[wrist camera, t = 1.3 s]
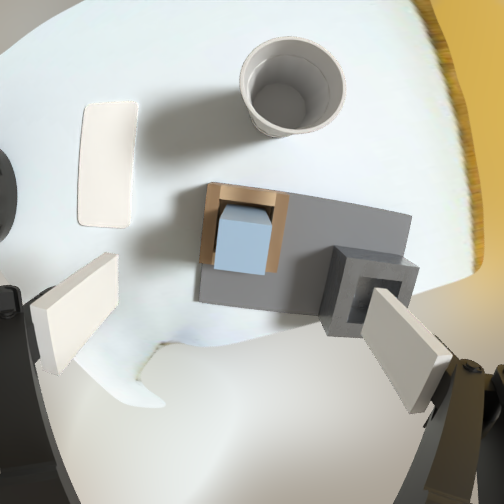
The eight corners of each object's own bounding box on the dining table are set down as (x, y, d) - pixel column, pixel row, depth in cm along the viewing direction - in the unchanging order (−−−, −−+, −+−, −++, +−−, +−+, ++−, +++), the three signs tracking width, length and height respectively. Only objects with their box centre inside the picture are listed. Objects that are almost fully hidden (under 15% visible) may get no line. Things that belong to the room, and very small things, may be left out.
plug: (222, 239, 34) (213, 268, 25) (227, 203, 33) (219, 218, 24) (259, 244, 34) (264, 275, 25) (264, 208, 33) (272, 225, 24)
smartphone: (138, 100, 31) (129, 229, 35) (141, 101, 31) (132, 227, 35) (84, 104, 30) (77, 225, 34) (87, 105, 31) (80, 224, 35)
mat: (199, 299, 37) (198, 302, 37) (212, 181, 34) (211, 182, 33) (382, 318, 39) (384, 320, 38) (409, 215, 35) (412, 216, 34)
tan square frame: (203, 253, 35) (198, 262, 32) (211, 182, 33) (207, 184, 30) (273, 262, 36) (276, 273, 32) (285, 192, 33) (289, 195, 30)
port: (318, 315, 37) (327, 336, 33) (333, 244, 35) (346, 257, 30) (381, 320, 38) (396, 339, 33) (400, 255, 36) (419, 267, 31)
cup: (271, 159, 33) (284, 155, 22) (226, 103, 31) (217, 72, 20) (327, 119, 32) (366, 98, 21) (284, 64, 30) (302, 20, 19)
